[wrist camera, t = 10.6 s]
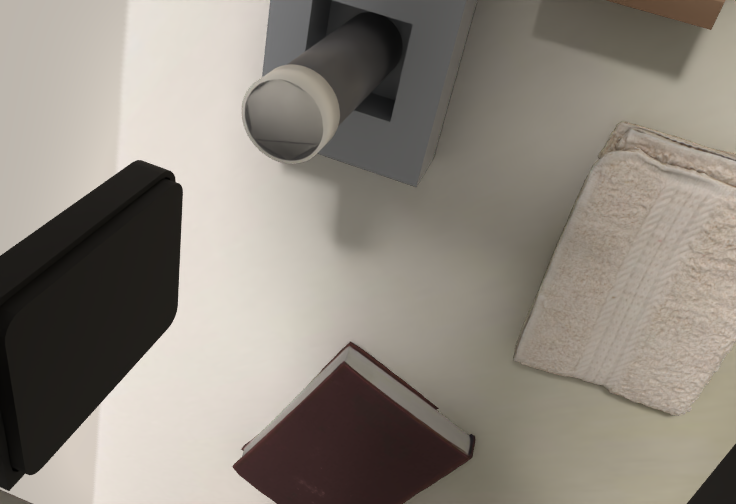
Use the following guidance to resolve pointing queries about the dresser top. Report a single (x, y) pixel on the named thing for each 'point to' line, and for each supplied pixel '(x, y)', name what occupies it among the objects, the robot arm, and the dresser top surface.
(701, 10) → the holster
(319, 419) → the book
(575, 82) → the dresser top surface
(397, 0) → the port
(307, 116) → the grey and white cylinder
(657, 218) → the washcloth
